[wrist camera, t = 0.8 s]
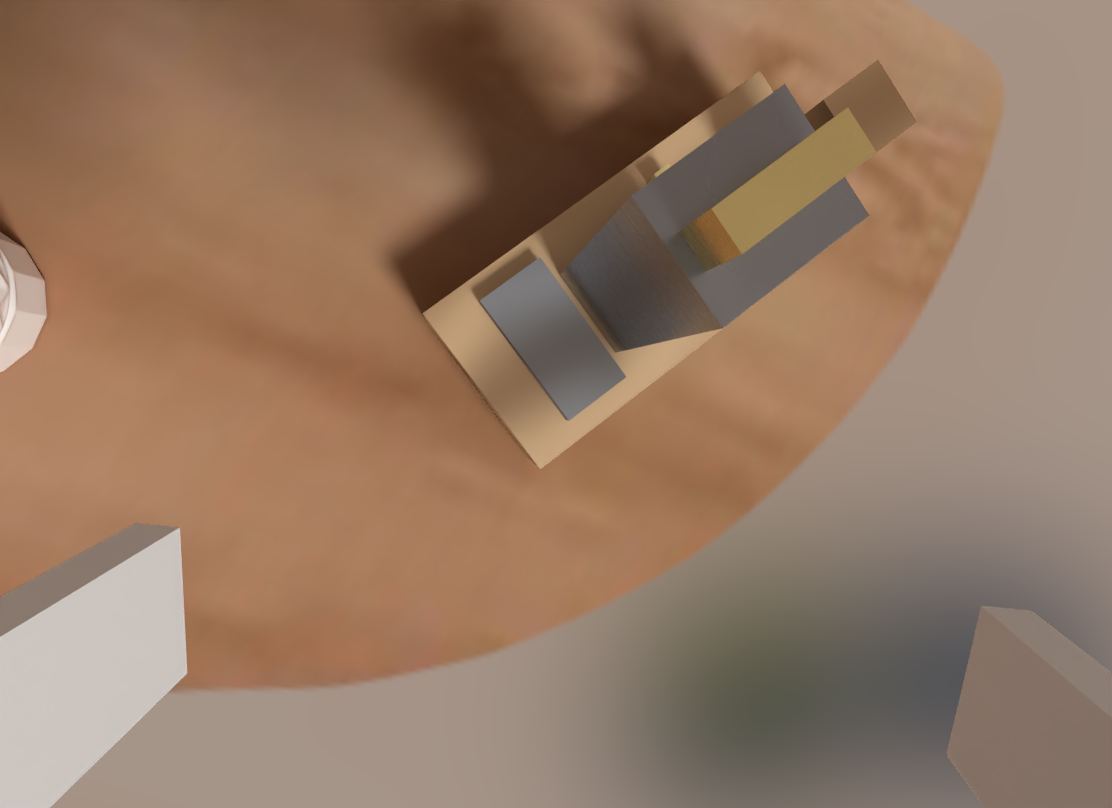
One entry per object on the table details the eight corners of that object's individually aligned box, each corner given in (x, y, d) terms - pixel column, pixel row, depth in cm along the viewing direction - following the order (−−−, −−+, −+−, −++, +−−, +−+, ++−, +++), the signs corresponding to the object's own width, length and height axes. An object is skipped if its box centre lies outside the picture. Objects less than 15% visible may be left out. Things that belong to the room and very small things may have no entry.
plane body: (427, 323, 29) (409, 285, 19) (721, 110, 31) (861, -36, 21) (529, 458, 30) (569, 497, 20) (809, 244, 32) (988, 170, 21)
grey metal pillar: (559, 275, 26) (656, 167, 14) (652, 207, 27) (830, 41, 14) (615, 352, 27) (760, 319, 14) (705, 284, 27) (925, 191, 14)
